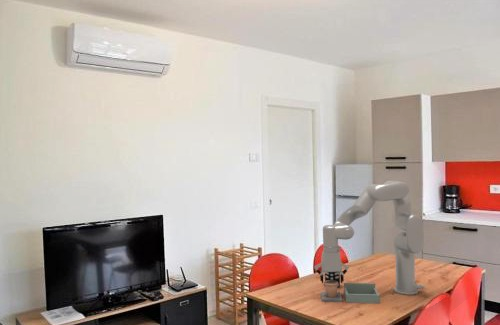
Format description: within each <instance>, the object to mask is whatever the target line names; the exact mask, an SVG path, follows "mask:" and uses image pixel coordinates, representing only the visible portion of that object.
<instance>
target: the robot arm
mask: <svg viewBox="0 0 500 325" xmlns="http://www.w3.org/2000/svg"><path fill="white" fill-rule="evenodd" d="M409 192H410V188H409V185H408V184H407V183H406V182H403V181H400V180H399V181H397V180H387V181H385V182H384V183H383V184H376V183H373V184H372V183H371V184H368V185H367V186H366V187H365V189H364V190H362V193H360V195H359V197H358V198H357V199H356V200H355V202H354V203H353V204H351V206H349V208H347V209H346V210H345V211H343V212H342V213H341V214H340V215H339V216H338V218H337V219H336V220H335V222H334V223H333V224H326V225H324V226H322V242H323V244H322V246H323V248H322V249H323V251H321V260H320V263H318V264H316V265H314V270H315V271H316V273H317V274H318V275H319V277H320V278H319V279H320V282H321V283H322V284H324V274H325V272H340V284H343V282H344V280H345V279H344V277H345V274H346V273H347V272H348V270H349V269H350V267H349V265H348V264H345V263H343V262H342V258H341V256H342V255H341V251H340V250H342V247H341V246H339V240H345V241H346V240H350V239H352V238H353V237H354V235H355V229H354V228H353V227H352V225H351V224H352V223H353V222H354V221H356V220H357V219H358V220H359V219H360V218H363V217H366V216H367V215H368V214H369V213H370V211H371V210H372V208H373V207H374V205H375V204H376V203H377V202H388V201H392V202H393V208H394V222H395V226H396V228H398V229H400V230H403V231H399V232H397V233H396V234H395V235H394V237H393V247H394V254H395V286H393V287H392V290H393V291H394V292H395V293H396V294H400V295H407V296H410V295H411V296H412V295H417V294H419V289H421V290H424V289H425V288H426V287H425V285H424V284H423V285H422V284H420V283H419V284H417V283H416V273H415V272H416V268H415V261H416V260H415V255H416V254H417V255H418V254H420V253H421V252H422V251H423V249H424V247H425V246H424V245H425V237H424V236H425V235H424V223H423V221H422V218H421V217H420V215H417V214H415V213H413V210H412V204H411V199H410V197H409ZM338 250H339V251H340V252H339V251H338ZM320 267H321V270H320V269H319V268H320ZM342 267H343V268H344V269H343V268H342ZM342 269H343V270H342Z"/></svg>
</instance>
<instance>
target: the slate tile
mask: <svg viewBox="0 0 500 325" xmlns="http://www.w3.org/2000/svg"><path fill="white" fill-rule="evenodd" d="M320 296H321V302H328V303H329V302H334V303H342V302H343V298H342V294H341V291H340V292H339V291H337V297H335V298H330V297H326V296H325V291H320Z"/></svg>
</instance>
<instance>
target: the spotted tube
mask: <svg viewBox="0 0 500 325" xmlns="http://www.w3.org/2000/svg"><path fill="white" fill-rule="evenodd" d="M338 251H339V252H340V253H341V251H340V250H338ZM340 274H341V273H340V272H324V281H327V280H334V281H337V282H338V285H337V289H340V288H341V279H340Z"/></svg>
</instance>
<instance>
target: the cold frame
mask: <svg viewBox="0 0 500 325" xmlns="http://www.w3.org/2000/svg"><path fill="white" fill-rule="evenodd" d="M343 296H344V299H345V302H346V303H354V304H355V303H356V304H358V303H359V304H380V300H381V299H380V296H381V295H380V293H379V291H378V290H377V288H376V283H374V282H373V283H371V282H370V283H369V282H343Z"/></svg>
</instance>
